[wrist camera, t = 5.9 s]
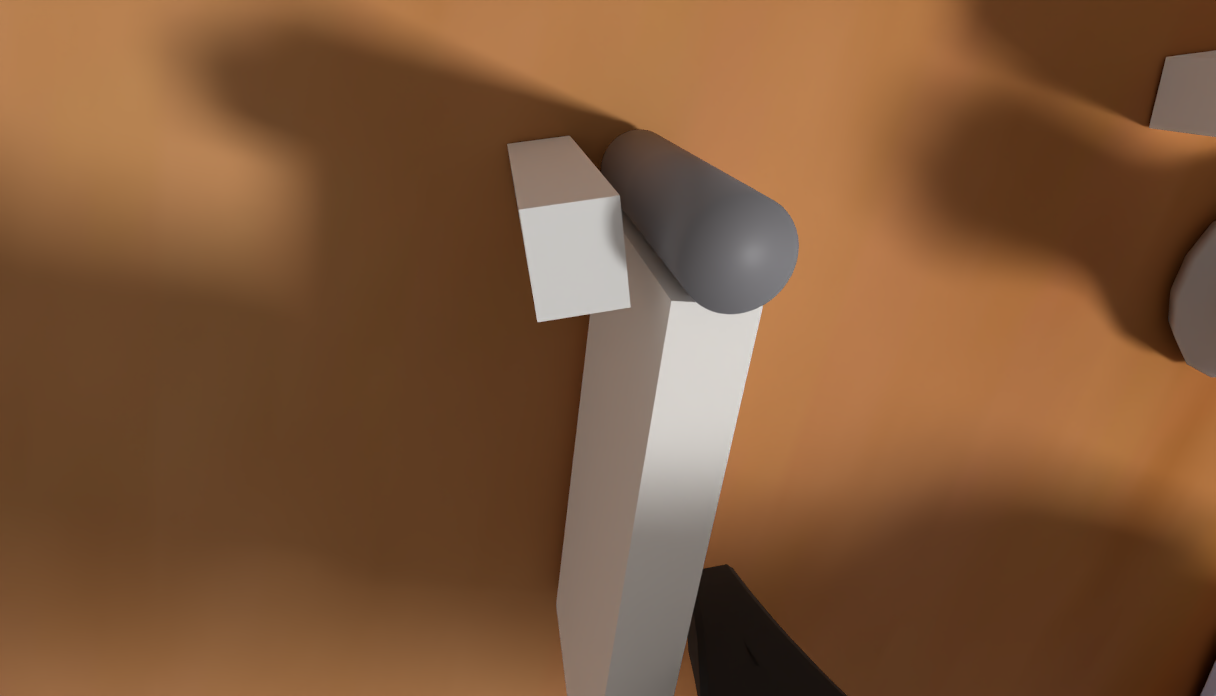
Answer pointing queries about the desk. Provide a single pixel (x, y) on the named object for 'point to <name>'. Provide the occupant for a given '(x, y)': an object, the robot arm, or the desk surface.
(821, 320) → the desk surface
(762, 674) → the robot arm
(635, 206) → the door
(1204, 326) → the rook chess piece
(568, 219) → the wall
